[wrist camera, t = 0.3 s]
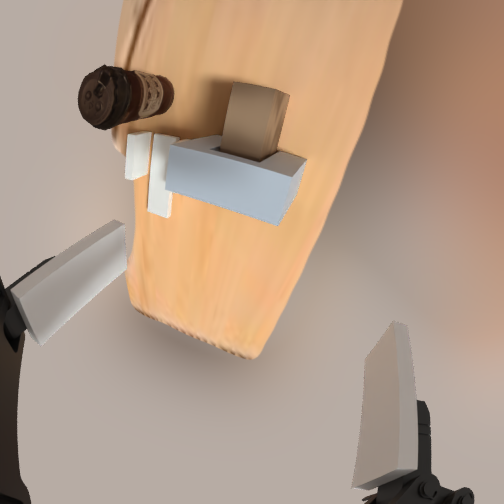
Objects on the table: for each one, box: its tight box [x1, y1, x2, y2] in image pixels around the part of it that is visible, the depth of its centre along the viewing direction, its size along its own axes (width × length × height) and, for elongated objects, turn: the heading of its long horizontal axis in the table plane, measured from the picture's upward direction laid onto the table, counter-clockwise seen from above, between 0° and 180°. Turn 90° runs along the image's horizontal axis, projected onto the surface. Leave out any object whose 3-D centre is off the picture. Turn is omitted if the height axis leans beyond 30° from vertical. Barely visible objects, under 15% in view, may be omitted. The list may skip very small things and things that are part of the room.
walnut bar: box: [219, 82, 290, 163], centre depth 31 cm, size 14×4×8 cm, turn 167°
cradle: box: [125, 131, 190, 218], centre depth 39 cm, size 13×10×4 cm
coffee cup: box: [78, 65, 174, 130], centre depth 29 cm, size 9×8×13 cm
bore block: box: [165, 135, 307, 226], centre depth 31 cm, size 5×13×11 cm, turn 77°
